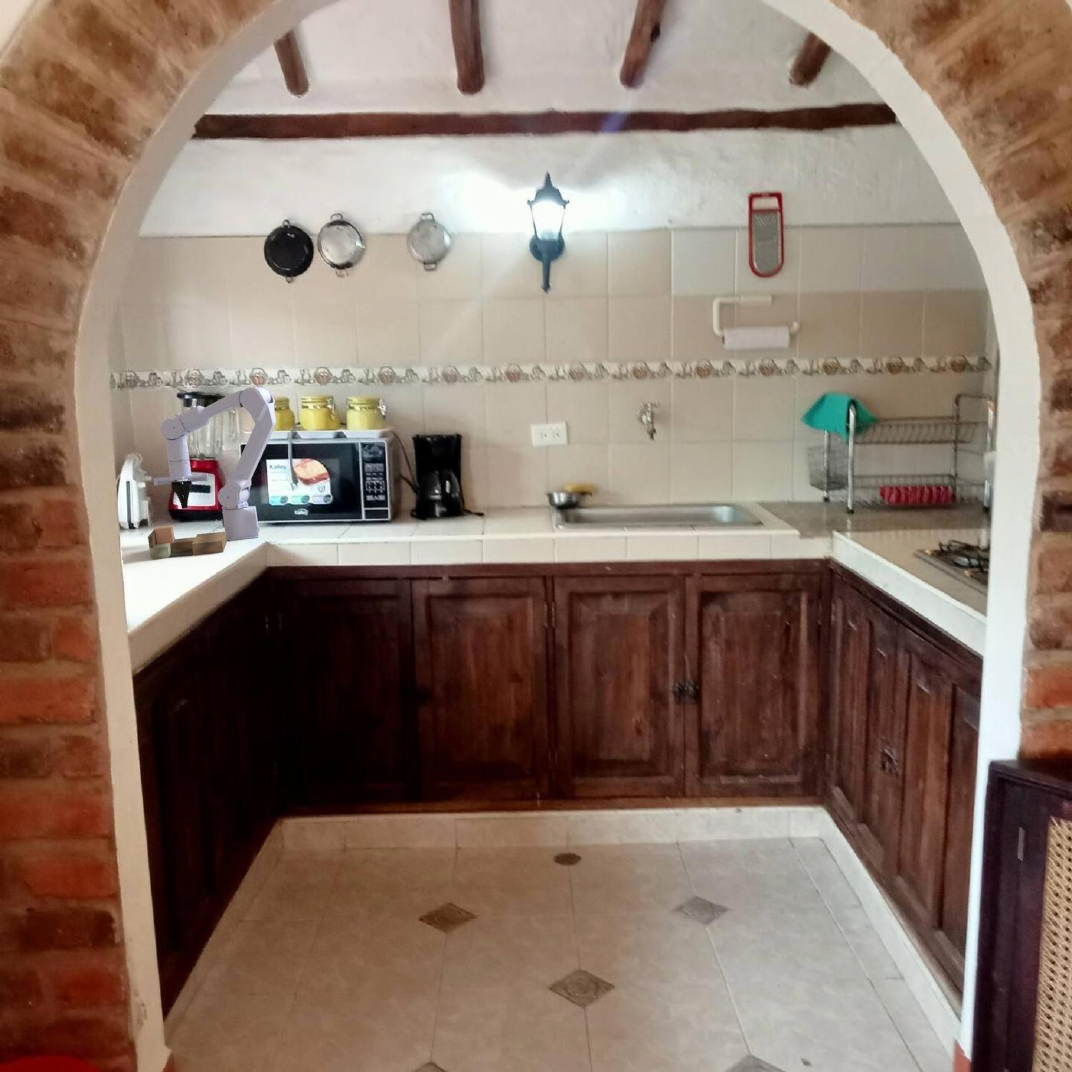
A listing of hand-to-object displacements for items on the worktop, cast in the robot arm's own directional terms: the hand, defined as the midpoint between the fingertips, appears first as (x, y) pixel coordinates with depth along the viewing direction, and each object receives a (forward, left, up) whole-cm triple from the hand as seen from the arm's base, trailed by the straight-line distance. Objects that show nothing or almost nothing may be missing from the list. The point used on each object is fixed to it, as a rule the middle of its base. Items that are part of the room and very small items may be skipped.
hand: (184, 508), depth 270 cm
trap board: (-2, +18, -9) cm, 20 cm away
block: (+4, +18, -6) cm, 19 cm away
